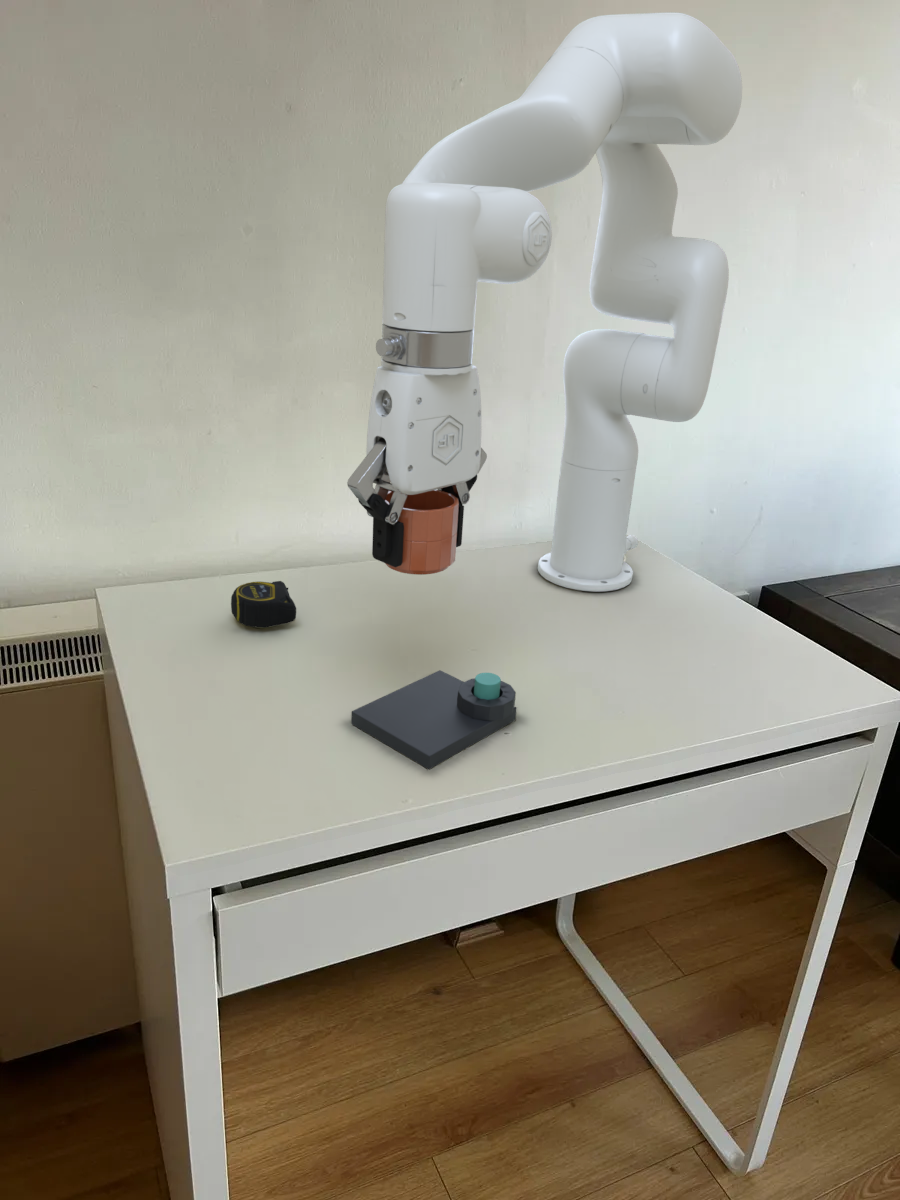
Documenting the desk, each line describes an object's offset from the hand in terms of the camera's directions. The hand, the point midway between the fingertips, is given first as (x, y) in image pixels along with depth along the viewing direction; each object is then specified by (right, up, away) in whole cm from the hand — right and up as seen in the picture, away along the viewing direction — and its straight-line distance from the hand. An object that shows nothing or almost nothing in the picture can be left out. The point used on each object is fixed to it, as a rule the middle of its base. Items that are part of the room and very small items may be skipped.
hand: (417, 550), depth 81 cm
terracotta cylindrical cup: (0, -1, 0) cm, 1 cm away
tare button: (+6, -13, +4) cm, 15 cm away
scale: (+1, -16, +4) cm, 16 cm away
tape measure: (-18, -7, +22) cm, 29 cm away
